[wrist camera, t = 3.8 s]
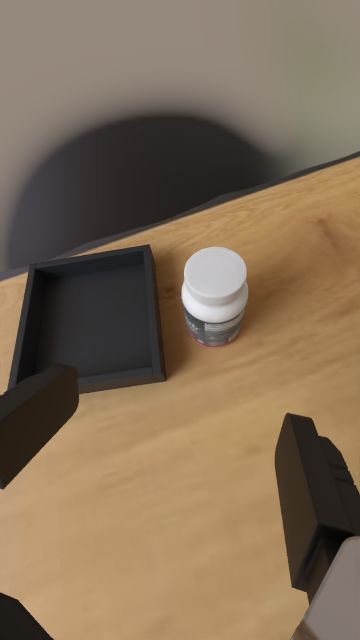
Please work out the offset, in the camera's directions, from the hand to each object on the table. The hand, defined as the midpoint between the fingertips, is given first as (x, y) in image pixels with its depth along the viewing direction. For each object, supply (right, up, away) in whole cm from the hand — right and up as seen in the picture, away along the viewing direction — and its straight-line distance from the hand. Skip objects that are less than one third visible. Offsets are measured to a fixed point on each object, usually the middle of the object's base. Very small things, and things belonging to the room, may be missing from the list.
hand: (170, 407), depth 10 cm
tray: (-9, +3, +20) cm, 22 cm away
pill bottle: (+4, +3, +18) cm, 19 cm away
